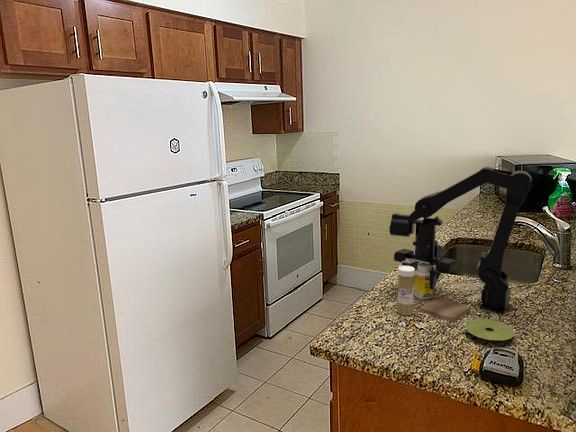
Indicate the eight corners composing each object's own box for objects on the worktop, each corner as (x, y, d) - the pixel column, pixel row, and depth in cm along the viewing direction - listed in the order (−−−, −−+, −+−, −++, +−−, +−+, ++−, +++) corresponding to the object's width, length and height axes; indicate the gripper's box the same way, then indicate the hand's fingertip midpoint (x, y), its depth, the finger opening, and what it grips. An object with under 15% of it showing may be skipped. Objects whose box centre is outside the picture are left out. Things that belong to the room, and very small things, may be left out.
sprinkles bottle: (396, 314, 121) (397, 269, 119) (398, 308, 126) (399, 264, 123) (412, 317, 120) (414, 271, 117) (414, 310, 124) (415, 265, 121)
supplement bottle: (424, 301, 130) (425, 269, 128) (410, 295, 134) (411, 264, 132) (436, 296, 133) (437, 265, 130) (422, 291, 137) (423, 260, 135)
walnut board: (470, 310, 122) (470, 307, 122) (453, 321, 116) (453, 318, 116) (438, 300, 130) (438, 297, 130) (420, 310, 123) (420, 307, 123)
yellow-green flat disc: (498, 352, 100) (499, 344, 100) (455, 334, 109) (456, 327, 109) (522, 337, 107) (523, 330, 106) (480, 321, 116) (480, 314, 115)
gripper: (468, 238, 128) (465, 287, 131) (412, 228, 142) (411, 273, 145) (449, 246, 121) (446, 298, 124) (393, 235, 134) (392, 282, 138)
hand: (423, 286), depth 133 cm, fingers closed on supplement bottle, 5 cm apart
